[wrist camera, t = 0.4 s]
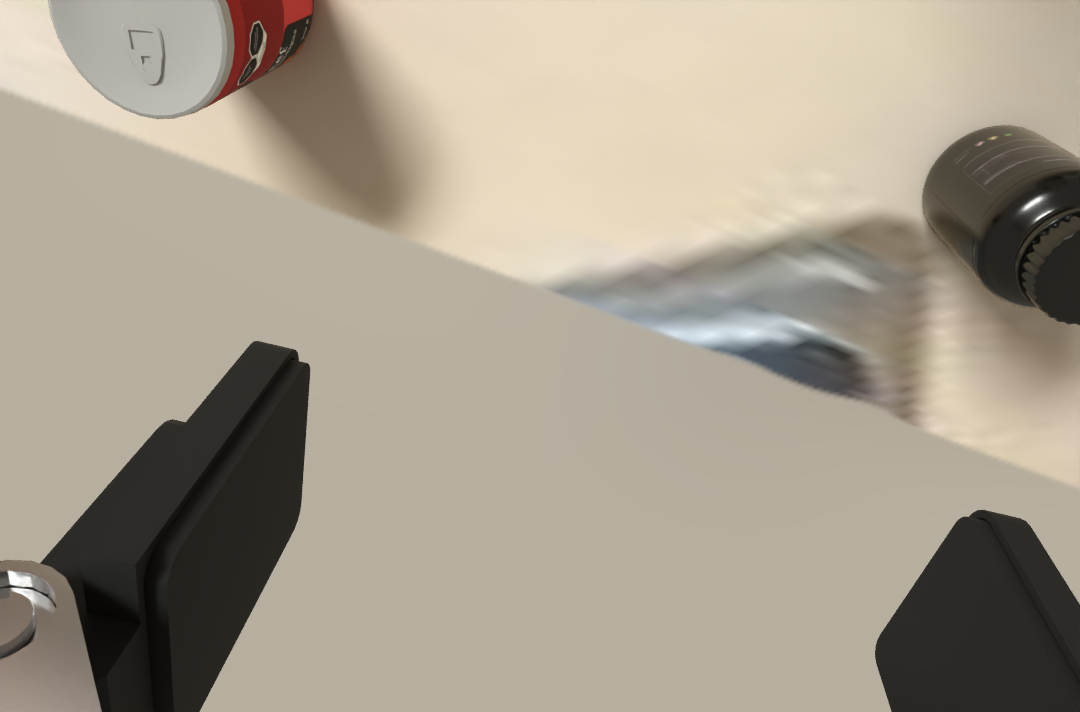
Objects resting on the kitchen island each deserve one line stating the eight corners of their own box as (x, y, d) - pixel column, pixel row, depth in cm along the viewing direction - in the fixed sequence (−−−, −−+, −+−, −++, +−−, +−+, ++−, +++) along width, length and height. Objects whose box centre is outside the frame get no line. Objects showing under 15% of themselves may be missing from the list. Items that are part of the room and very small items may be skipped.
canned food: (215, 81, 44) (104, 136, 35) (150, -76, 40) (4, -62, 31) (340, 52, 43) (259, 101, 33) (284, -114, 39) (174, -111, 29)
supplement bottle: (1059, 217, 43) (1190, 321, 33) (930, 257, 45) (1016, 367, 35) (1047, 100, 40) (1186, 175, 30) (908, 148, 42) (995, 234, 32)
